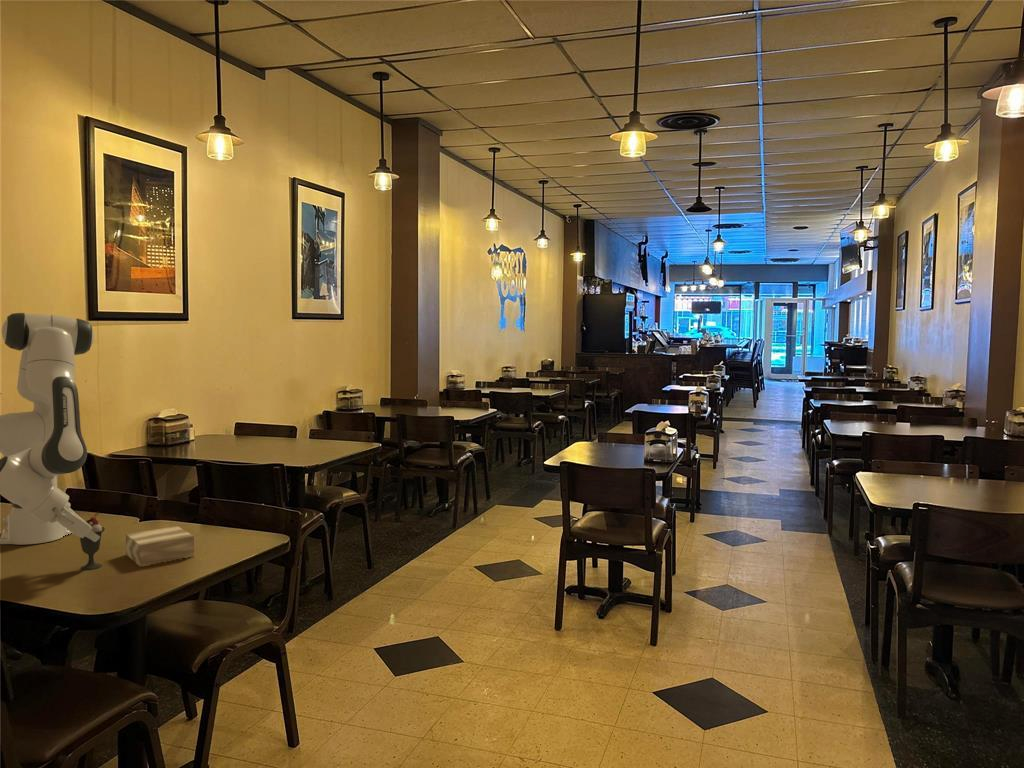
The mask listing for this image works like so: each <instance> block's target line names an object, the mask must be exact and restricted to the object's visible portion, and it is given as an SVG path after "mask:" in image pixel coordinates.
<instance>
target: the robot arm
mask: <svg viewBox="0 0 1024 768" xmlns="http://www.w3.org/2000/svg"><path fill="white" fill-rule="evenodd" d="M1 336H2V339H3V341H4V344H5V345H6V346H7V347H8V348H10V349H12V350H16V351H19V352H21V351H22V352H21V355H20V362H19V369H18V375H17V377H18V378H17V384H16V385H17V386H16V389H17V393H18V394H19V395H20V396H21V397H22V398H24V399H25V400H27V401H28V402H29V401H30V402H32V403H33V410H32V411H25V412H24V411H21V412H20V411H19V412H10V413H5V414H1V415H0V454H1V455H2V457H1V458H0V495H1V496H2V497H3V498H4V499H6V500H7V501H9V502H10V503H11V506H12V509H11V510H10V512H9V513H8V515H7V517H4V518H2V526H3V527H5V528H4V529H3V530H2V532H1V535H0V545H20V546H21V545H38V544H42V543H48V542H53V541H56V540H59V539H62V538H63V536H64V537H65V535H66V536H68V534H69V535H72V534H74V535H75V536H77V538H78V537H79V539H80V538H84V537H87V538H89V539H91V540H92V541H94V542H96V541H97V540H98V539H99V538H100V537H99V536H98V535H97V534H96V533H94V532H93V531H92V530H91V529H92V527H91V526H90V525H89V524H88V523H87V522H86V521H87V520H84V519H83V518H82V517H80V516H79V515H78V514H77V513H76V512H75V511H74V510H73V509H72V508H71V503H70V502H69V500H70V496H69V495H68V494H67V493H66V492H65V491H63V490H61V489H60V488H59V487H58V476H61V475H66V474H71V473H74V472H77V471H79V469H81V468H82V467H83V466H84V464H85V463H86V460H87V457H88V449H87V445H86V442H85V440H84V437H83V434H82V430H81V429H82V428H81V413H80V400H79V399H80V398H79V392H78V387H77V384H76V380H75V367H76V366H75V365H76V364H75V363H76V359H75V356H77V355H78V356H79V355H83V354H86V353H88V352H90V350H91V348H92V346H93V344H94V341H95V333H94V329H93V327H92V324H91V323H90V322H89V321H87V320H84V319H80V318H78V317H77V318H72V317H67V316H62V315H56V314H51V315H49V314H35V313H34V314H33V313H27V314H26V313H25V312H16V313H11V314H10V315H8V316H7V317H6V319H5V321H4V322H3V324H2V326H1ZM71 533H72V534H71Z"/></svg>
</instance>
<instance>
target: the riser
mask: <svg viewBox="0 0 1024 768" xmlns="http://www.w3.org/2000/svg"><path fill="white" fill-rule="evenodd" d="M125 554H126V555H125V556H127V557H128V556H129V557H130V558H129V557H128V558H129V559H130V560H132V561H133V562H134V563H135V562H136V563H135V564H136V565H138V566H139V567H140V568H141V566H142V567H145V566H146V567H147V566H151V564H153V565H157V563H158V564H162V563H161V562H163V563H168V562H167V561H169V562H172V561H171V560H174V561H177V560H176V559H179V560H183V559H182V558H185V559H189V557H190V558H194V557H195V535H193V534H191V533H190V532H188V531H186V530H184V529H183V528H181V526H178V525H175V526H168V527H163V528H156V529H149V530H143V531H137V532H136V531H135V532H130V533H125Z"/></svg>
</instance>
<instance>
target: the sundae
mask: <svg viewBox="0 0 1024 768" xmlns="http://www.w3.org/2000/svg"><path fill="white" fill-rule="evenodd" d="M99 514H100V511H96V513H95V514H94V515H93V516H91V517H90V518H89V519H88V520H85V521H86V522H87V523H88V524H89V525H90V526H91V527H92V529H91V530H92V531H93V532H94V533H96V534H97V535H98V536H99V537H100V538H99V539H98V540H97V541H96V542H94V541H92V540H91V539H89V538H87V537H84V538H80V537H79V541H80V546H81V551H82V552H83V553H84V554H86V555H88V561H87V563H86V564H84V565H82V566H80V569H81V570H83V571H91V570H92V571H93V570H95V569H99V567H100V568H101V567H103V565H102V564H101V563H96V562H95V559H94V556H95V554H96V553H97V552H98V551H99V550H100V547H101V539H102V534H103V532H104V531H105V527H103V526H102V525H101V524H100V523H99V520H98V519H97V516H98V515H99Z"/></svg>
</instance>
